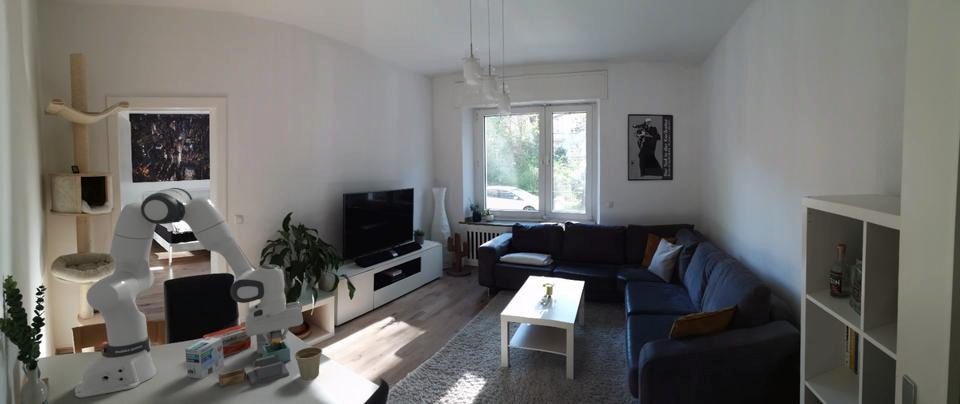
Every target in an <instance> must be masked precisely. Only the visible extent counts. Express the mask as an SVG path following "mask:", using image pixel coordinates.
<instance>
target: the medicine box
mask: <svg viewBox="0 0 960 404" xmlns="http://www.w3.org/2000/svg"><path fill="white" fill-rule="evenodd" d="M207 337H211V338H222V345H223V357H226V356H229V355H231V354H236V353H238V352H241V351H244V350H247V349H249V348H251V347H252V338H251V337H252V336H247V335H246V333H245V325H243V324H239V325H236V326H231V327H229V328H225V329H221V330H218V331H215V332H211V333H208V334H205V335H203V339H205V338H207ZM203 339H202V340H203Z"/></svg>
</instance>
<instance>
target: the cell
mask: <svg viewBox="0 0 960 404" xmlns="http://www.w3.org/2000/svg"><path fill="white" fill-rule="evenodd" d="M270 339H271V340H270V341H271V343H270V345H271V350H272V351H278V350H280V349H282V341H283V340H282V335H281V330H276V331H272V332H270Z"/></svg>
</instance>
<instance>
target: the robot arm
mask: <svg viewBox="0 0 960 404" xmlns="http://www.w3.org/2000/svg"><path fill="white" fill-rule="evenodd" d="M181 221H182V222H184V223H186V224H187V225H188V226H189V228H190V230H191V232H192V233H193V235H194V237H195V238H196V239H197V242H199V244H200V245H201V246H202V247H203V248H204V249H205V250H206V251H209V252H215V253H218V254H219V255H221V256H222V257H223V258H224V260H225V261H226V262H227V264H228V266H229V267H230V268H231V270H232V271H233V274H234V276H235V279H234V281H233V283H232V285H231V287H230V290H229V291H230V292H229V293H230V296H231V299H233V300H234V301H235V302H237V303H241V304H246V303H252V302H255V301H257V300H259V302H258V303H256V304H253V305H250V306H249V307H248V308H247V316H246V317H245V321H244V322H245V324H244V327H245V333H246V335H247V336H251V337H253V336H256V335H258V334H262V335H263V337H264V338H265V339H266V344H267V343H271V341H270V340H271V339H270V337H266V335H267V332H272V331H276V330H280V329H282V330H283V332H282V334H281V335H282V341H285V340H286V339H287V334H288V332H289V328H292V327H297V326H301V325H302V324H303V323H304V318H303V313H302V311H303V303H301V302H299V301H293V302H288V303H287V302H286V301H287V299H286V294H285V285H286V284H285V275H284V271H283V269H282V267H280V265H277V264H273V263H265V264H262V265H260V266H259V267H258V268H256V267H254V265H253V264H251V262H250V261H249V260H248V257H247V256H246V255H245V254H244V252H243V250H242V249H241V247H240V245H239V243H238V242H237V240H236V237H235V235H234V233H233V231H232V229H231V226H230V224H229V223H228V221H227V219H226V217H225V216H224V214H223V213H222V211H221V210H220V208H219V207H218V206H217V205H216V203H215V202H214V201H213V200H212V199H210V198H208V197H205V196H201V197H196V198H193V197H192V195H191V194H190V193H189V191H187V190H185V189H184V188H179V187H171V188H166V189H160V190H159V191H157V192H155V193H151V194H149V195H148V196H147V197H146V198H145V199H144V200H143V201H142V202H137V201H136V202H130V203H126V205H124V206H123V207H122V209H121V211H120V212H119V215H118V218H117V220H116V223H115V227H114V231H113V235H112V238H111V239H112V240H111V244H110V245H111V246H110V250H109V256H110V257H111V258H112V260H114V271H113V272H112V274H110V275H107V276H106V277H103V278H100V279H99V280H98V281H96V282H95V283H93V285H92V286H90V287H89V288H88V290H87V292H86V296H85V297H86V301H87V303H88V305H89V306H90V307H91V308H92V309H94V310H97V311H98V312H99V313H100V315H101V316H102V319H103V321H104V324H105V328H106V336H107V341H103V342H101V344H100V351H101V352H100V353H101V355H100V356H99V358H97V359H96V360H94V362H92V363H91V364H89V366H88V367H86V369H85V370H84V373H83V377H82V380H81V381H79V383H78V384H76V386H75V389H74V395H75V397H76V398H79V399H80V398H81V399H82V398H87V397H88V398H89V397H92V396H99V395H104V394H109V393H115V392H119V391H125V390H131V389H133V388H136V387H137V386H139V384H141V383H144V382H146V381H147V380H148V381H149V379H151V378H153V377H154V376H155V375H156V374H157V373H158V370H157V368H156V366H155V364H154V362H153V359H152V355H151V349H152V347H151V338H150V335H149V334H148V325H147V317H146V315H145V313H144V312H142V311H140V310H139V308H138V306H137V302H136V299H137V298H138V297H140V296H142V295H143V294H146V292H148V290H149V289H151V287H152V286H153V285H154V283H155V275H154V272H153V271H152V269H151V267H150V266H151V265H150V254H151V250H152V246H153V245H152V243H153V240H154V234H155V230H156V227H157V225H165V224H166V225H167V224H173V223H180V222H181Z"/></svg>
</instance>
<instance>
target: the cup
mask: <svg viewBox="0 0 960 404" xmlns="http://www.w3.org/2000/svg"><path fill="white" fill-rule="evenodd" d="M282 341H283V342H282V349H280V350H278V351H272V350H271V345H266V346H262V348H263V353H262V357H266V356H270V355H278V362H282V363H284V364H285V363H288V362H291V349H290V346H289V345H288V344H287V342H286V341H285V340H282Z"/></svg>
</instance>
